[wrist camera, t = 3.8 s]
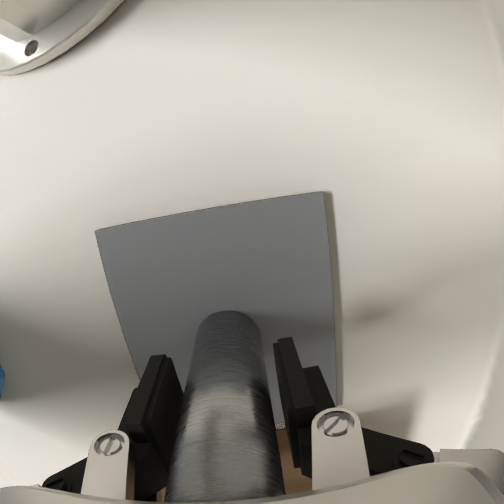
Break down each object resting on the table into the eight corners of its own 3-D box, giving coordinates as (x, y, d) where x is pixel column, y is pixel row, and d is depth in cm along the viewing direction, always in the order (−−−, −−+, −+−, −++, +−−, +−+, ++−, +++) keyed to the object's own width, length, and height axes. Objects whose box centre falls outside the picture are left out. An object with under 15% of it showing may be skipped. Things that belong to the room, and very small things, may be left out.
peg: (189, 315, 14) (130, 549, 4) (256, 305, 14) (294, 548, 4) (203, 369, 15) (180, 587, 4) (264, 361, 15) (300, 582, 4)
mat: (98, 229, 13) (94, 231, 13) (320, 191, 14) (323, 192, 13) (164, 429, 16) (163, 434, 16) (334, 407, 17) (336, 411, 16)
